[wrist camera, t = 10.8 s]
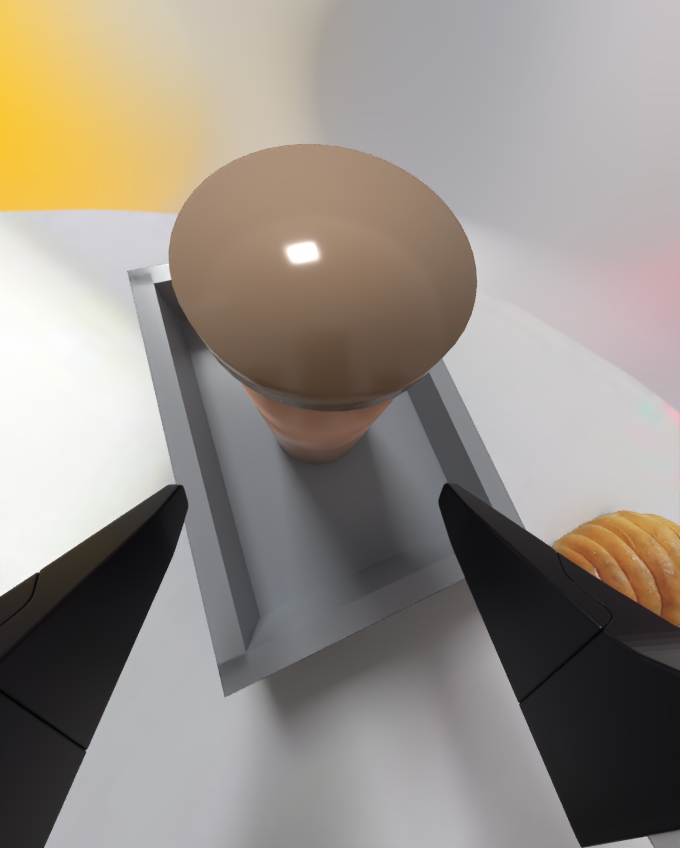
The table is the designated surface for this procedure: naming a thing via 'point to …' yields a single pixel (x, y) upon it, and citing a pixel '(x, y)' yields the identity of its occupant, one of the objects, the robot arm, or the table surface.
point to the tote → (304, 502)
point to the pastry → (631, 557)
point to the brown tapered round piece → (321, 286)
